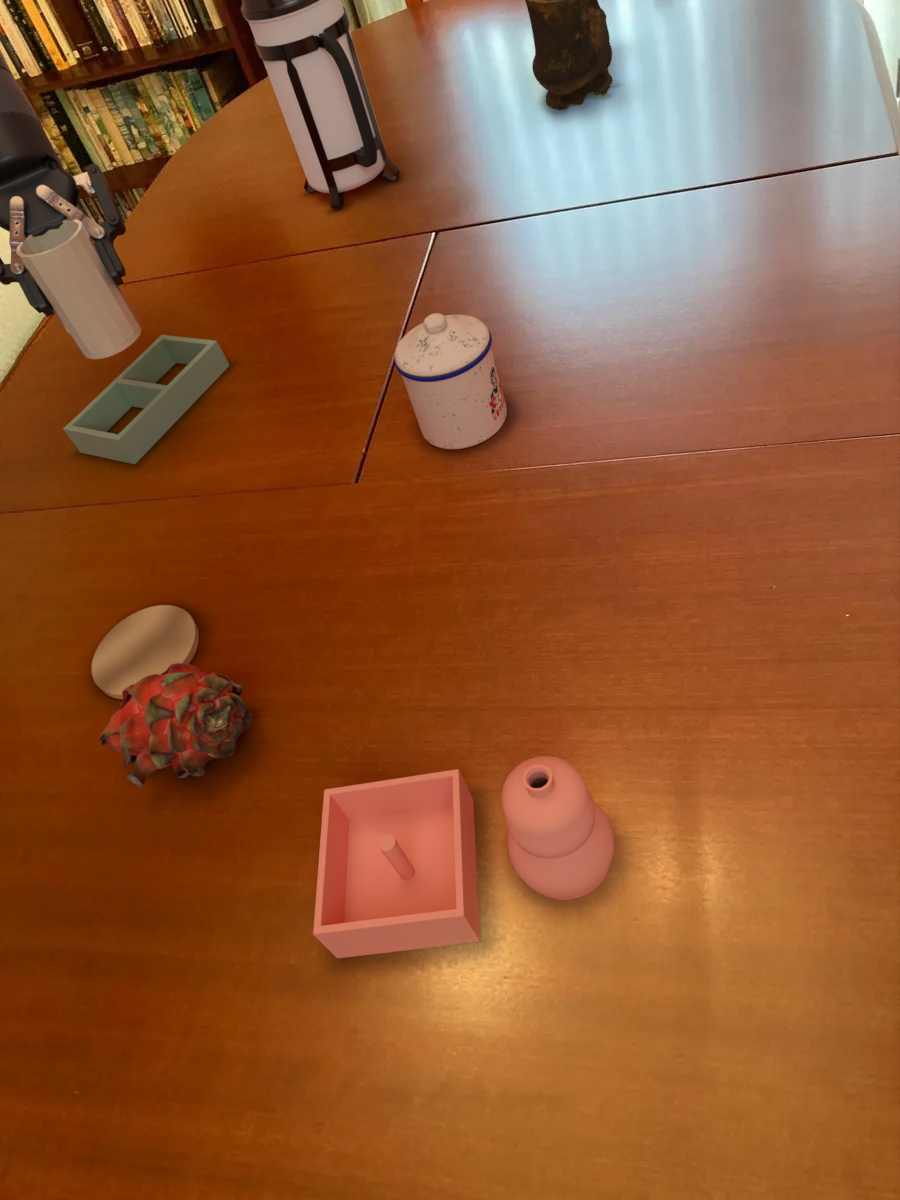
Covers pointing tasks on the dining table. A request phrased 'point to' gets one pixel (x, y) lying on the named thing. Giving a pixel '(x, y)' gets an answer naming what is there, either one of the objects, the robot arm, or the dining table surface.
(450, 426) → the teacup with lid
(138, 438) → the divided rectangular holder
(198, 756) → the dragon fruit
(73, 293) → the cup
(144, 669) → the coaster
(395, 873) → the pottery
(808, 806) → the dining table surface
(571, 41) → the pottery vessel
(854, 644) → the dining table surface
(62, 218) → the robot arm
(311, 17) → the coffee press
